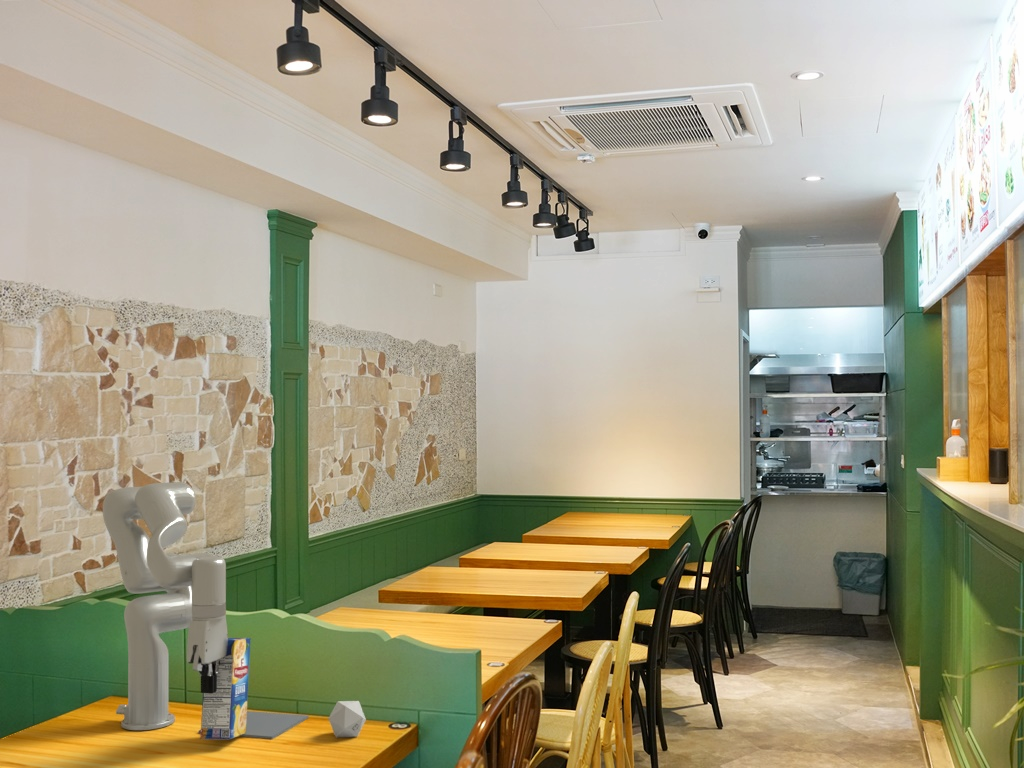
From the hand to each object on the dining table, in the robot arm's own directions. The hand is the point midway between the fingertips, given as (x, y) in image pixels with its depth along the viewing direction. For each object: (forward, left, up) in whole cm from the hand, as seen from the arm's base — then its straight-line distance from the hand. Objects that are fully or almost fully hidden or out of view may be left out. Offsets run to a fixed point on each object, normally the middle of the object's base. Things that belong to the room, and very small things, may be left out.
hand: (208, 692), depth 228 cm
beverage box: (0, +6, -12) cm, 13 cm away
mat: (0, +20, -13) cm, 24 cm away
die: (+26, +18, -13) cm, 34 cm away
